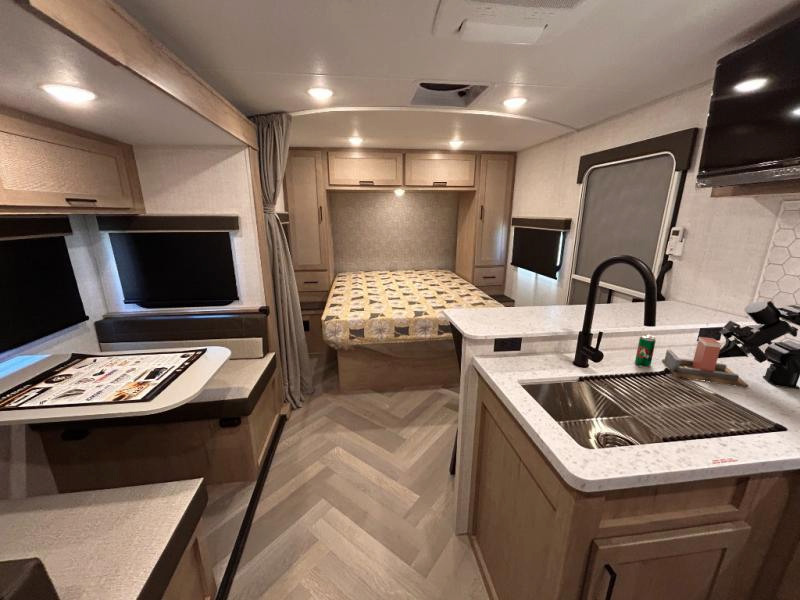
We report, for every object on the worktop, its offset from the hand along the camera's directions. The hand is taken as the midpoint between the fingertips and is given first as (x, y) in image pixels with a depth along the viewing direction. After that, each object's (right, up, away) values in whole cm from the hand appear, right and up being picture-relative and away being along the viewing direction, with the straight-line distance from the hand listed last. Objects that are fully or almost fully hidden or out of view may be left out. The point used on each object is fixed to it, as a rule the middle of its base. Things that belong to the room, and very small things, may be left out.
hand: (715, 356), depth 115 cm
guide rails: (-3, -6, +3) cm, 7 cm away
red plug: (-2, -6, +3) cm, 7 cm away
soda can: (-18, -5, +11) cm, 22 cm away
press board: (-2, -7, +3) cm, 8 cm away
